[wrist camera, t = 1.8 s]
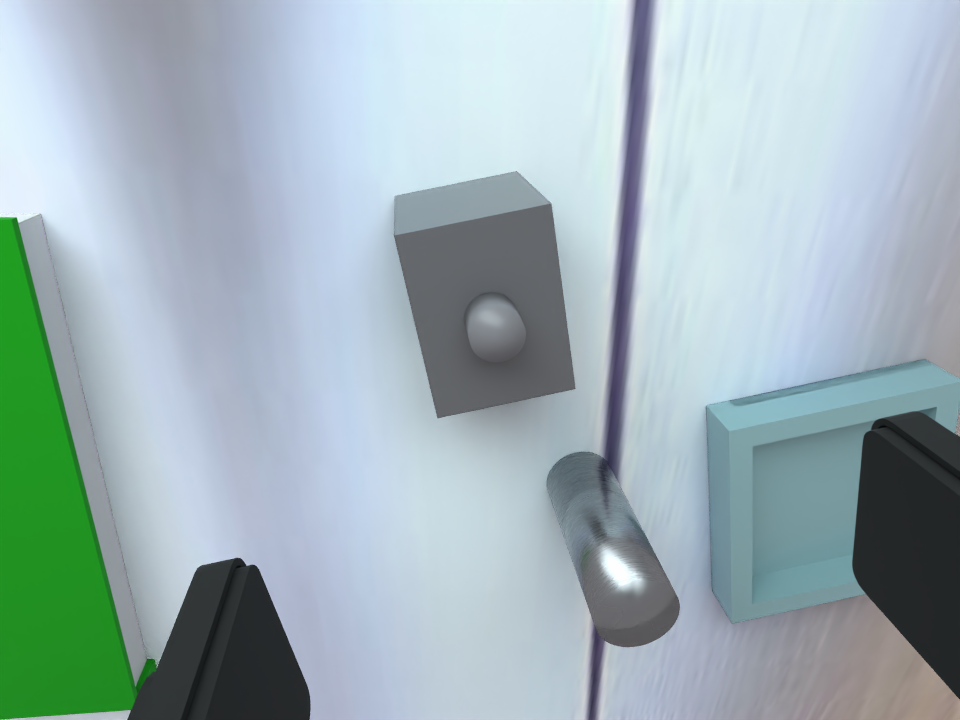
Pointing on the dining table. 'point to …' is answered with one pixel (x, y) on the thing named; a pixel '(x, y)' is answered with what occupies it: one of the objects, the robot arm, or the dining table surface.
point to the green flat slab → (54, 511)
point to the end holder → (802, 483)
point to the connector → (485, 292)
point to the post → (611, 553)
